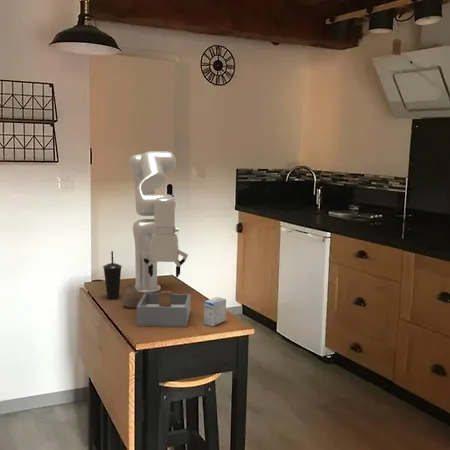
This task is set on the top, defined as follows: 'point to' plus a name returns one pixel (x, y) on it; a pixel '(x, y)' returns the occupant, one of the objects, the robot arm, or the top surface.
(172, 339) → the top surface
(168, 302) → the peg
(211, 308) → the medicine box
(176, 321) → the open box
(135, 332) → the top surface
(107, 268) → the drinking cup
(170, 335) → the top surface
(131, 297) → the vase
